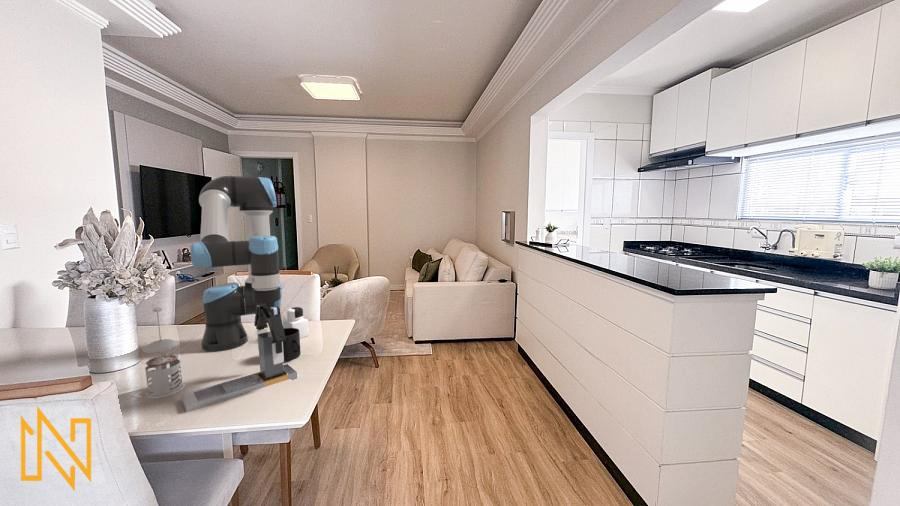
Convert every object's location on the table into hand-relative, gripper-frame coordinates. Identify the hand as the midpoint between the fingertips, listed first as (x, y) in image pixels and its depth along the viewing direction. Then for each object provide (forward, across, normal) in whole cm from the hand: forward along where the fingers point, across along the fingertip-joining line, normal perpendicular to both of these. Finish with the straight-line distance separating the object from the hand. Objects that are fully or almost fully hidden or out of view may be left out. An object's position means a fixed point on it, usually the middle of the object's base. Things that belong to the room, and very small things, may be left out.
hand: (270, 355), depth 108 cm
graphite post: (+7, 0, 0) cm, 7 cm away
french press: (+8, -15, -24) cm, 29 cm away
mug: (+8, -14, +10) cm, 19 cm away
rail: (+8, 0, -8) cm, 11 cm away
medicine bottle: (+8, -33, +20) cm, 39 cm away
